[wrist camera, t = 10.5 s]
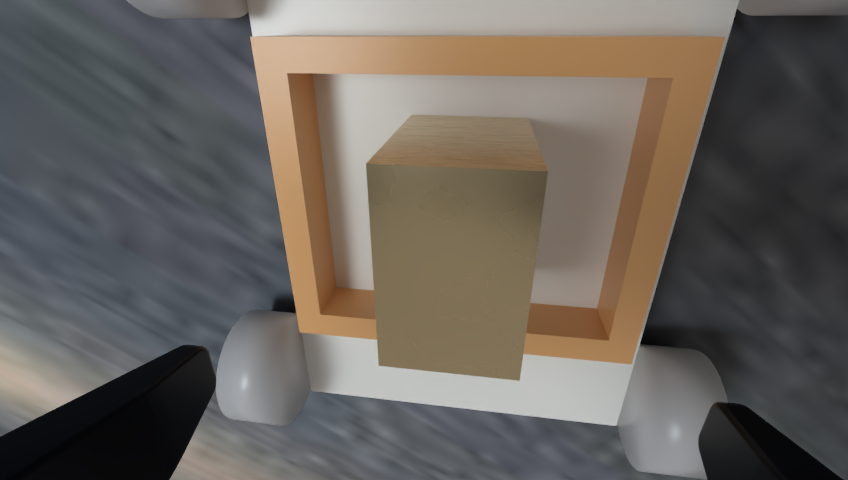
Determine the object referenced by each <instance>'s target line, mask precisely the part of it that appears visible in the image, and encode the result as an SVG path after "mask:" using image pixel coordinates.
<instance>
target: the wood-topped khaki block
mask: <svg viewBox="0 0 848 480" xmlns="http://www.w3.org/2000/svg"><path fill="white" fill-rule="evenodd" d="M366 172H367V188H368V204H369V219H370V235H371V251H372V267H373V283H374V299H375V315H376V331H377V347H378V363H379V366H386V367H395V368H404V369H414V370H423V371H433V372H442V373H451V374H461V375H470V376H480V377H489V378H498V379H508V380H517V381H520V375H521V367H522V360H523V353H524V345H525V338H526V331H527V323H528V316H529V309H530V301H531V294H532V287H533V279H534V272H535V265H536V257H537V250H538V242H539V235H540V228H541V220H542V213H543V206H544V198H545V191H546V184H547V176H548V169H547V167H546V164H545V162H544V159H543V156H542V154H541V151H540V148H539V146H538V143H537V140H536V138H535V135H534V132H533V130H532V127H531V124H530V122H529V119H528V118H513V117H477V116H440V115H411V116H410V117H409V118H408V119H407V120H406V121H405V122H404V123H403V124H402V125H401V127H400V128H399V129H398V130H397V131H396V132H395V133H394V134H393V135H392V136H391V137H390V138H389V139H388V140H387V141H386V143H385V144H384V145H383V146H382V147H381V148H380V149H379V150H378V151H377V152H376V153H375V154H374V155H373V156H372V158H371V159H370V160H369V161H368V162H367V163H366Z"/></svg>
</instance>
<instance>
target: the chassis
mask: <svg viewBox="0 0 848 480" xmlns="http://www.w3.org/2000/svg"><path fill="white" fill-rule="evenodd" d="M126 1H127V2H129V3H130V4H131V5H132V6H134V7H135V8H137V9H138V10H140V11H142V12H144V13H146V14H148V15H150V16H153V17H156V18H163V19H192V18H239V17H242V16H244V15H245V14H246V13H248V12H249V18H250V24H251V30H252V37H250V39H251V45H252V51H253V57H254V63H255V69H256V75H257V81H258V87H259V93H260V99H261V105H262V111H263V117H264V123H265V129H266V135H267V141H268V147H269V153H270V159H271V165H272V170H273V176H274V182H275V188H276V194H277V200H278V206H279V212H280V218H281V224H282V230H283V236H284V242H285V248H286V254H287V260H288V266H289V272H290V278H291V284H292V290H293V296H294V302H295V308H296V313H290V312H279V311H268V310H251V311H249V312H247V313H245V314H244V315H243V316H242V317H241V318H240V319H239V320H238V321H237V322H236V323H235V325H234V326H233V328H232V329H231V331H230V333H229V335H228V336H227V339H226V341H225V343H224V346H223V349H222V351H221V355H220V358H219V363H218V368H217V375H216V394H217V400H218V404H219V407H220V409H221V411H222V413H223V414H224V415H225V416H226V417H228V418H230V419H235V420H242V421H250V422H258V423H266V424H274V425H282V426H285V425H288V424H290V423H291V422H293V421H294V420H295V418H296V417H297V416H298V414H299V413H300V411H301V410H302V408H303V406H304V404H305V402H306V399H307V397H308V394H309V391H310V388H311V391H317V392H326V393H335V394H343V395H352V396H361V397H369V398H378V399H387V400H395V401H404V402H413V403H421V404H430V405H439V406H448V407H456V408H465V409H474V410H482V411H491V412H500V413H508V414H517V415H526V416H534V417H543V418H552V419H560V420H569V421H578V422H586V423H595V424H604V425H613V426H616V425H617V424H618V430H619V435H620V439H621V443H622V446H623V449H624V452H625V454H626V456H627V458H628V460H629V462H630V463H631V465H632V466H633V467H634V468H635V469H636V470H638V471H642V472H650V473H658V474H666V475H674V476H681V477H689V478H697V479H705V480H707V476H706V473H705V469H704V466H703V462H702V459H701V455H700V452H699V447H698V437H699V433H700V431H701V429H702V426H703V424H704V421H705V419H706V417H707V414H708V412H709V409H710V407H711V406H712V405H713V404H714V403H715V402H727V403H728V400H727V396H726V392H725V389H724V386H723V383H722V380H721V378H720V376H719V374H718V372H717V370H716V368H715V366H714V365H713V363H712V362H711V361H710V359H709V358H708V357H707V356H706V355H705V354H703V353H702V352H700V351H698V350H695V349H688V348H677V347H666V346H655V345H643V344H640V342H641V339H642V335H643V332H644V328H645V325H646V322H647V318H648V315H649V311H650V308H651V304H652V301H653V297H654V294H655V290H656V287H657V283H658V280H659V277H660V273H661V270H662V266H663V263H664V259H665V256H666V252H667V249H668V245H669V242H670V238H671V235H672V232H673V228H674V225H675V221H676V218H677V214H678V211H679V207H680V204H681V200H682V197H683V193H684V190H685V187H686V183H687V180H688V176H689V173H690V169H691V166H692V162H693V159H694V155H695V152H696V148H697V145H698V142H699V138H700V135H701V131H702V128H703V124H704V121H705V117H706V114H707V110H708V107H709V103H710V100H711V97H712V93H713V90H714V86H715V83H716V79H717V76H718V72H719V69H720V65H721V62H722V58H723V55H724V52H725V48H726V45H727V41H728V38H729V34H730V31H731V27H732V24H733V20H734V17H735V13H736V10H737V9H738V10H739V11H741V12H742V13H744V14H746V15H752V16H779V15H848V0H126ZM411 115H440V116H477V117H513V118H528V119H529V122H530V124H531V127H532V130H533V132H534V135H535V138H536V140H537V143H538V146H539V148H540V151H541V154H542V156H543V159H544V162H545V164H546V167H547V169H548V176H547V184H546V191H545V198H544V206H543V213H542V220H541V228H540V235H539V242H538V250H537V257H536V265H535V272H534V279H533V287H532V294H531V301H530V309H529V316H528V323H527V331H526V338H525V345H524V353H523V360H522V367H521V375H520V381H517V380H508V379H498V378H489V377H480V376H470V375H461V374H451V373H442V372H433V371H423V370H414V369H404V368H395V367H386V366H379V363H378V347H377V331H376V315H375V299H374V283H373V267H372V251H371V235H370V219H369V204H368V188H367V172H366V163H367V162H368V161H369V160H370V159H371V158H372V156H373V155H374V154H375V153H376V152H377V151H378V150H379V149H380V148H381V147H382V146H383V145H384V144H385V143H386V141H387V140H388V139H389V138H390V137H391V136H392V135H393V134H394V133H395V132H396V131H397V130H398V129H399V128H400V127H401V125H402V124H403V123H404V122H405V121H406V120H407V119H408V118H409V117H410V116H411Z"/></svg>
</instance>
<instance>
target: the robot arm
mask: <svg viewBox="0 0 848 480" xmlns="http://www.w3.org/2000/svg"><path fill="white" fill-rule="evenodd" d="M215 387H216V375H215V371H214V368H213V365H212V361H211V358H210V354H209V351H208V350H207V349H206V348H205V347H203V346H196V345H182V346H180V347H178V348H176V349H174V350H172V351H170V352H168V353H166V354H164V355H162V356H160V357H158V358H156V359H154V360H152V361H150V362H148V363H146V364H144V365H142V366H140V367H138V368H136V369H134V370H132V371H130V372H128V373H126V374H124V375H122V376H120V377H118V378H116V379H114V380H112V381H110V382H108V383H106V384H104V385H102V386H100V387H98V388H96V389H94V390H92V391H90V392H88V393H86V394H84V395H82V396H80V397H78V398H76V399H74V400H72V401H70V402H68V403H66V404H64V405H62V406H60V407H58V408H56V409H54V410H52V411H50V412H48V413H46V414H44V415H42V416H40V417H38V418H36V419H34V420H32V421H30V422H28V423H26V424H24V425H22V426H20V427H18V428H16V429H14V430H12V431H10V432H8V433H6V434H5V435H3V436H1V437H0V480H169V479H170V478H171V476H172V474H173V472H174V471H175V469H176V467H177V465H178V463H179V461H180V460H181V458H182V456H183V454H184V452H185V450H186V448H187V446H188V444H189V442H190V440H191V438H192V436H193V434H194V432H195V429H196V427H197V425H198V423H199V421H200V419H201V417H202V415H203V413H204V411H205V409H206V407H207V405H208V403H209V401H210V399H211V397H212V395H213V393H214V390H215ZM698 447H699V452H700V455H701V459H702V462H703V466H704V469H705V473H706V476H707V480H843V479H842V478H840V477H839V476H838V475H836V474H835V473H834V472H832V471H831V470H830V469H828V468H827V467H826V466H824V465H823V464H822V463H821V462H819V461H818V460H817V459H815V458H814V457H813V456H811V455H810V454H809V453H807V452H806V451H805V450H803V449H802V448H801V447H799V446H798V445H797V444H795V443H794V442H793V441H791V440H790V439H789V438H788V437H786V436H785V435H784V434H782V433H781V432H780V431H778V430H777V429H776V428H774V427H773V426H772V425H770V424H769V423H768V422H766V421H765V420H764V419H762V418H761V417H760V416H759V415H757V414H756V413H755V412H753V411H752V410H751V409H749V408H748V407H746V406H744V405H741V404H736V403H727V402H715V403H714V404H713V405H712V406H711V407H710V409H709V412H708V414H707V417H706V419H705V421H704V424H703V426H702V429H701V431H700V433H699V437H698Z"/></svg>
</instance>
